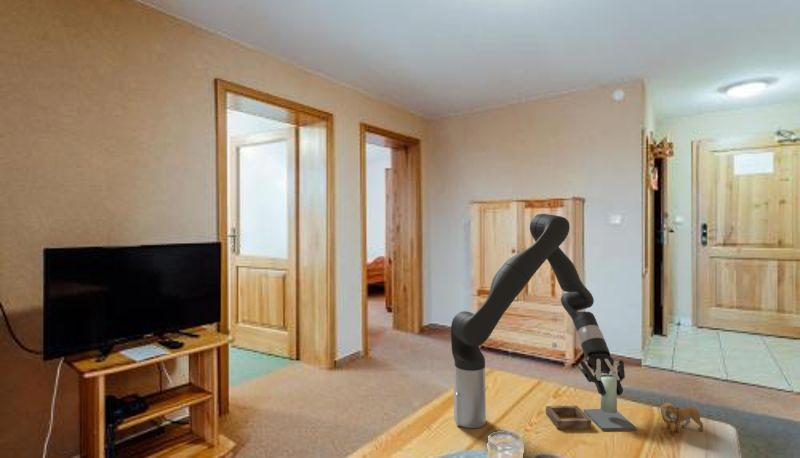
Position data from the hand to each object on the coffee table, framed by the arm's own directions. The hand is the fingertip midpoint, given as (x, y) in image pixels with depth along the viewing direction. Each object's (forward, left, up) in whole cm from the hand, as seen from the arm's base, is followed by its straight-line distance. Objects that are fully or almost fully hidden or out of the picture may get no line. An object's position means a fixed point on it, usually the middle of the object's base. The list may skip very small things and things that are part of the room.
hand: (612, 394), depth 124 cm
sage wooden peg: (0, +2, -6) cm, 6 cm away
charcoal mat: (0, +2, -9) cm, 9 cm away
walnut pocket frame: (-13, +2, -9) cm, 15 cm away
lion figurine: (+17, -5, -9) cm, 20 cm away
